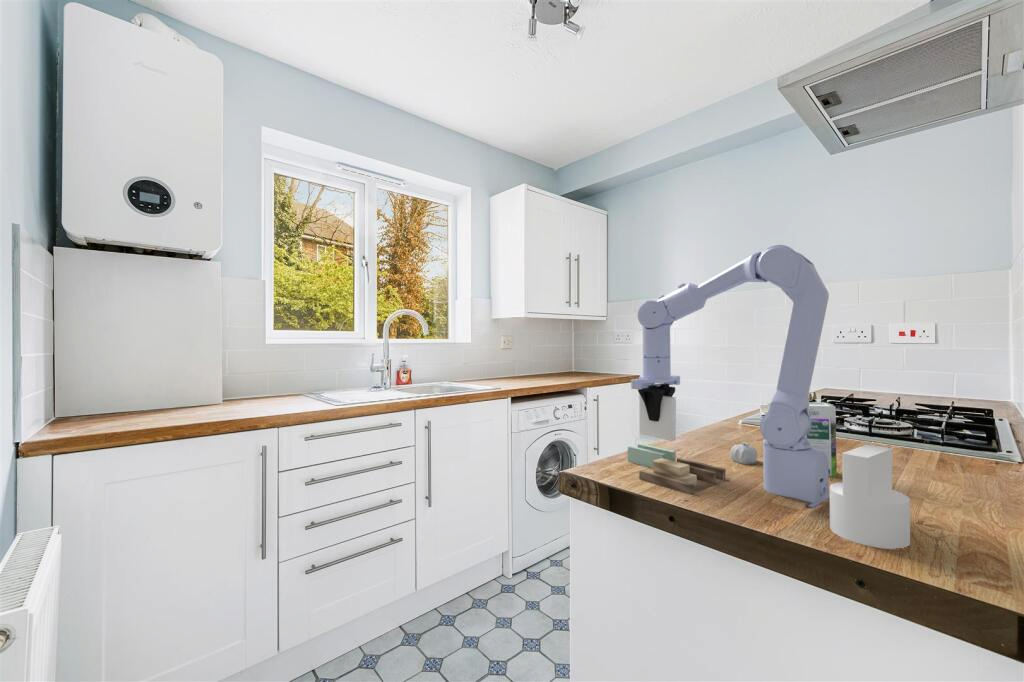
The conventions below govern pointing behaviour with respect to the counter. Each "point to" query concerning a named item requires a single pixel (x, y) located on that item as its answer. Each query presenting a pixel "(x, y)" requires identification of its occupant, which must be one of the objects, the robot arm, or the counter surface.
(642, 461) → the stand
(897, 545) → the cylinder with rectangular tab
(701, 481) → the rack
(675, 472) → the offcut stack
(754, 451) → the garlic
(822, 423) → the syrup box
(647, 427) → the white square panel
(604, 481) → the counter surface
